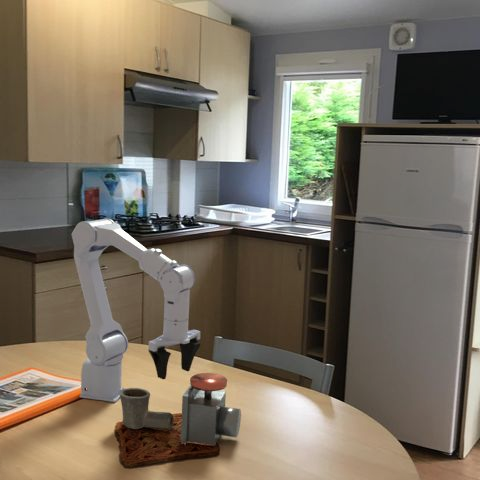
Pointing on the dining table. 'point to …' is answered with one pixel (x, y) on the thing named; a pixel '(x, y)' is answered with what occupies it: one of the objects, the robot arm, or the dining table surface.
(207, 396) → the valve
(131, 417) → the pipe
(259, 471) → the dining table surface
